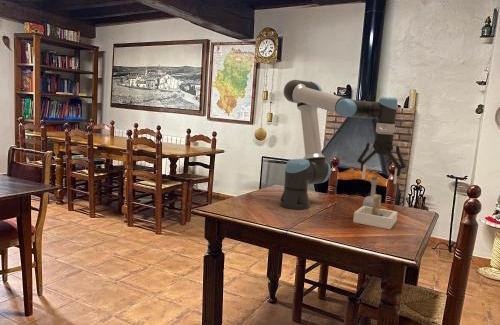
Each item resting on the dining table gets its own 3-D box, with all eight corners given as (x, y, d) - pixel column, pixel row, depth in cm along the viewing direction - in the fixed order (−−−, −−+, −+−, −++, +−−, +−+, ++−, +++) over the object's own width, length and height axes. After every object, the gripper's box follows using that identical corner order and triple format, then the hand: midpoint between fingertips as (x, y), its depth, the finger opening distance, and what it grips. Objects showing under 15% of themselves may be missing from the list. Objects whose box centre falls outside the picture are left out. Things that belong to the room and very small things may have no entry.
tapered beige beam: (371, 219, 165) (373, 195, 164) (373, 218, 169) (375, 194, 167) (377, 221, 164) (379, 196, 163) (378, 219, 168) (381, 195, 166)
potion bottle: (381, 214, 181) (385, 178, 179) (362, 212, 183) (366, 176, 180) (379, 209, 189) (382, 175, 187) (361, 208, 191) (364, 173, 189)
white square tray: (353, 222, 164) (354, 212, 163) (362, 214, 177) (362, 205, 177) (390, 229, 156) (391, 219, 156) (396, 221, 169) (397, 211, 169)
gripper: (353, 130, 165) (348, 177, 168) (414, 136, 152) (407, 186, 155) (358, 130, 171) (353, 175, 174) (416, 135, 159) (410, 184, 162)
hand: (378, 181), depth 165 cm, fingers open, 13 cm apart
